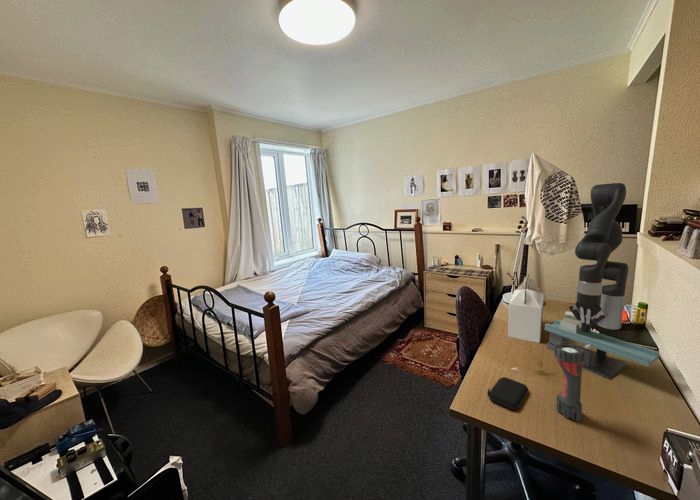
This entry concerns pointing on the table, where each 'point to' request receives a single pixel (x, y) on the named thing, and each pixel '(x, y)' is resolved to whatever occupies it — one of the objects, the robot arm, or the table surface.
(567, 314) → the skincare box
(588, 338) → the seesaw beam
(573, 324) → the steel slider
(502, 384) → the carrying case or bag
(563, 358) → the flashlight
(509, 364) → the table surface
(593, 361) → the beam stand
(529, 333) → the gable box
